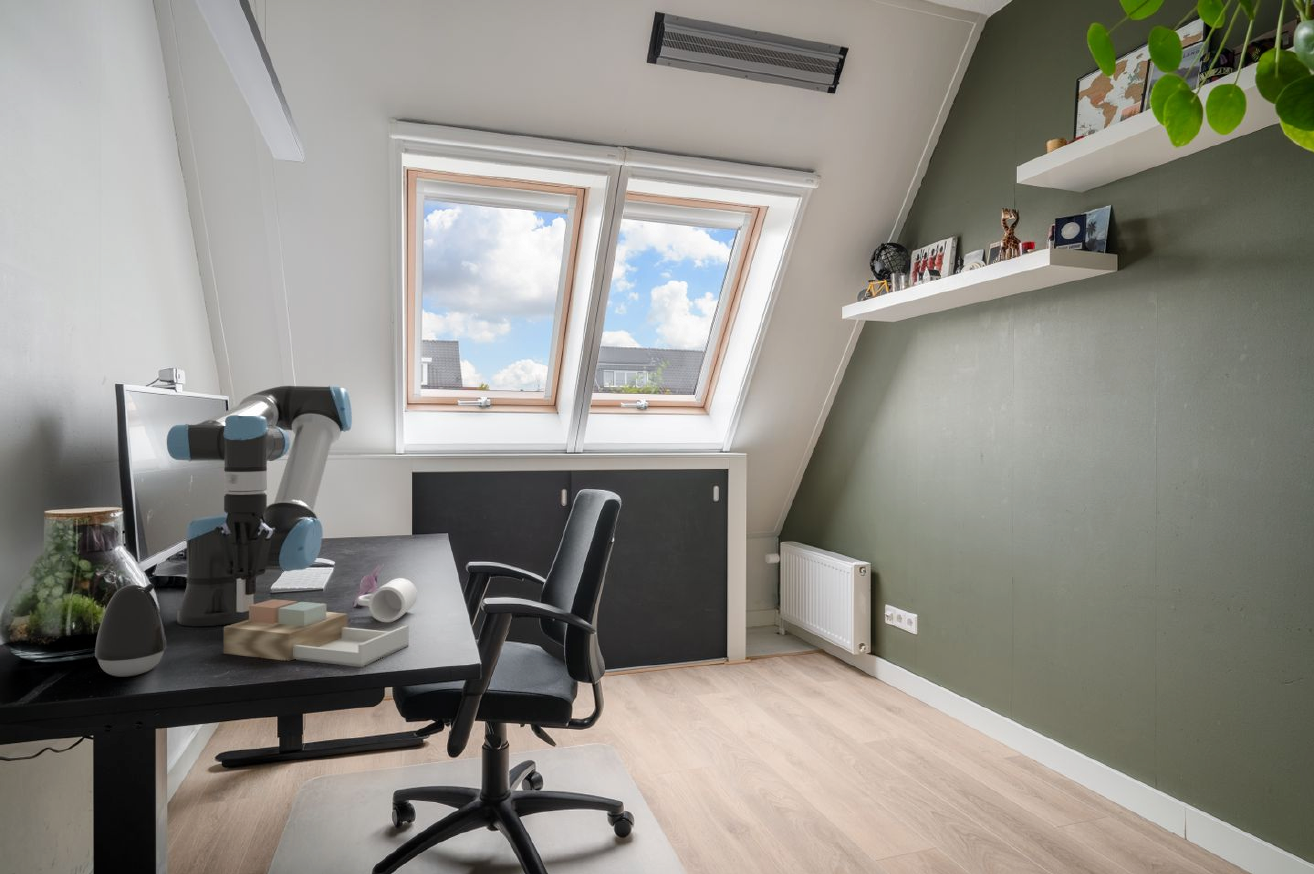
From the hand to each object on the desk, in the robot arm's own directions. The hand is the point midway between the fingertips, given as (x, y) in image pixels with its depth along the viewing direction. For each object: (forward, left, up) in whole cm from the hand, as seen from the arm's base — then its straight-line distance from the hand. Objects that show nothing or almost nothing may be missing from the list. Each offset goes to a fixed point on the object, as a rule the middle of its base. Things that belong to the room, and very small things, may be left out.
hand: (245, 610), depth 153 cm
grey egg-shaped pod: (-3, -21, -6) cm, 23 cm away
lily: (+2, +36, -6) cm, 37 cm away
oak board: (+10, 0, -6) cm, 12 cm away
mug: (+14, +26, -7) cm, 30 cm away
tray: (+25, 0, -6) cm, 26 cm away
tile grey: (+14, 0, -1) cm, 14 cm away
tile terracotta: (+7, 0, -1) cm, 7 cm away
